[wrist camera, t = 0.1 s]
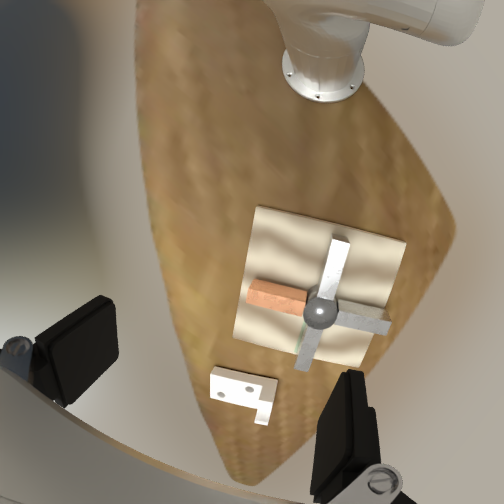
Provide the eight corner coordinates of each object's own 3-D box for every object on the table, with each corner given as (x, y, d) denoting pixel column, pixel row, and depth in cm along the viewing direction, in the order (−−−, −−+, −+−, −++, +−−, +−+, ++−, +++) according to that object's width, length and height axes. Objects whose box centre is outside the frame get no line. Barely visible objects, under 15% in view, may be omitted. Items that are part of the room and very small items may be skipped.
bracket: (278, 376, 54) (272, 402, 47) (273, 400, 57) (267, 425, 49) (216, 363, 57) (203, 386, 50) (215, 387, 59) (203, 410, 52)
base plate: (258, 205, 46) (255, 206, 44) (403, 241, 42) (406, 244, 40) (234, 333, 53) (232, 338, 52) (357, 362, 49) (358, 368, 48)
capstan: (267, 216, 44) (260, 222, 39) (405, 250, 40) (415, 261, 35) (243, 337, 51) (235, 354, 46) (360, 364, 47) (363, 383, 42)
